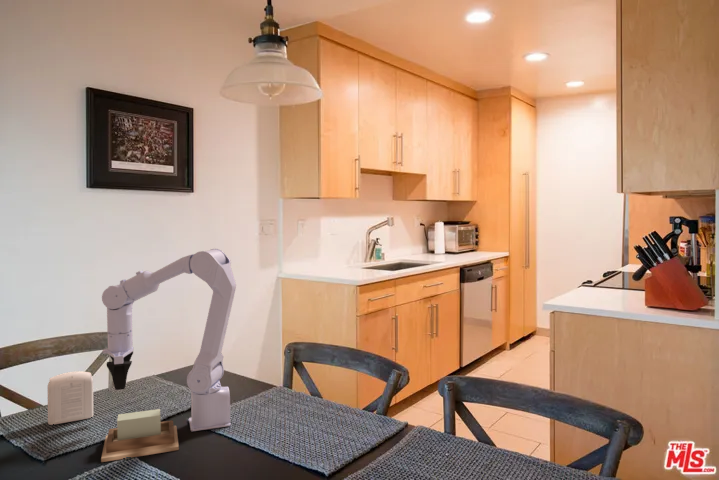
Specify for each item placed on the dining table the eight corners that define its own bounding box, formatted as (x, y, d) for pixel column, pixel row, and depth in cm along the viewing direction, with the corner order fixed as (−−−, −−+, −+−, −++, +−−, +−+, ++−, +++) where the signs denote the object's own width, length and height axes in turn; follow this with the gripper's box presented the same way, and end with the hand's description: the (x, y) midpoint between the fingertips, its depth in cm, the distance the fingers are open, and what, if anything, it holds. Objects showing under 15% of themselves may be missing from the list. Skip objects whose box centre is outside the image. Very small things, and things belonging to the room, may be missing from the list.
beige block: (118, 439, 118) (118, 414, 118) (160, 433, 121) (160, 408, 121) (117, 447, 114) (117, 421, 114) (160, 440, 118) (160, 415, 117)
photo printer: (92, 412, 136) (91, 367, 135) (94, 418, 132) (93, 371, 132) (47, 421, 130) (46, 373, 129) (48, 427, 127) (47, 378, 126)
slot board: (176, 428, 126) (176, 417, 126) (178, 449, 115) (178, 437, 115) (106, 438, 120) (105, 427, 120) (101, 462, 109) (100, 449, 109)
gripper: (104, 326, 135) (106, 377, 136) (99, 339, 122) (100, 395, 122) (134, 324, 138) (135, 374, 138) (132, 337, 124) (133, 392, 125)
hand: (121, 384), depth 131 cm, fingers open, 7 cm apart
